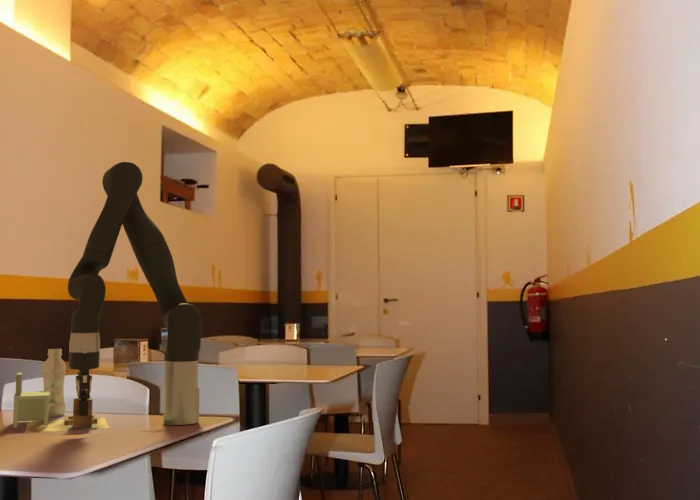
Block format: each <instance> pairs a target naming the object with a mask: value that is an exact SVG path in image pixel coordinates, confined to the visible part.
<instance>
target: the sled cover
mask: <svg viewBox="0 0 700 500" xmlns="http://www.w3.org/2000/svg"><path fill="white" fill-rule="evenodd" d="M15 375H16V376H15V392H14V393H15V394H14V395H13V411H12V412H13V413H12V415H13V416H12V428H17V427H18V422H28V421H44V426H48V421H49V417H48V413H49V391H44V390H42V391H41V390H39V391H38V390H37V391H23V390H22V389H23V388H22V387H23V372H21V371H20V372H19V371H18V372H17V373H16V374H15Z"/></svg>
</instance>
